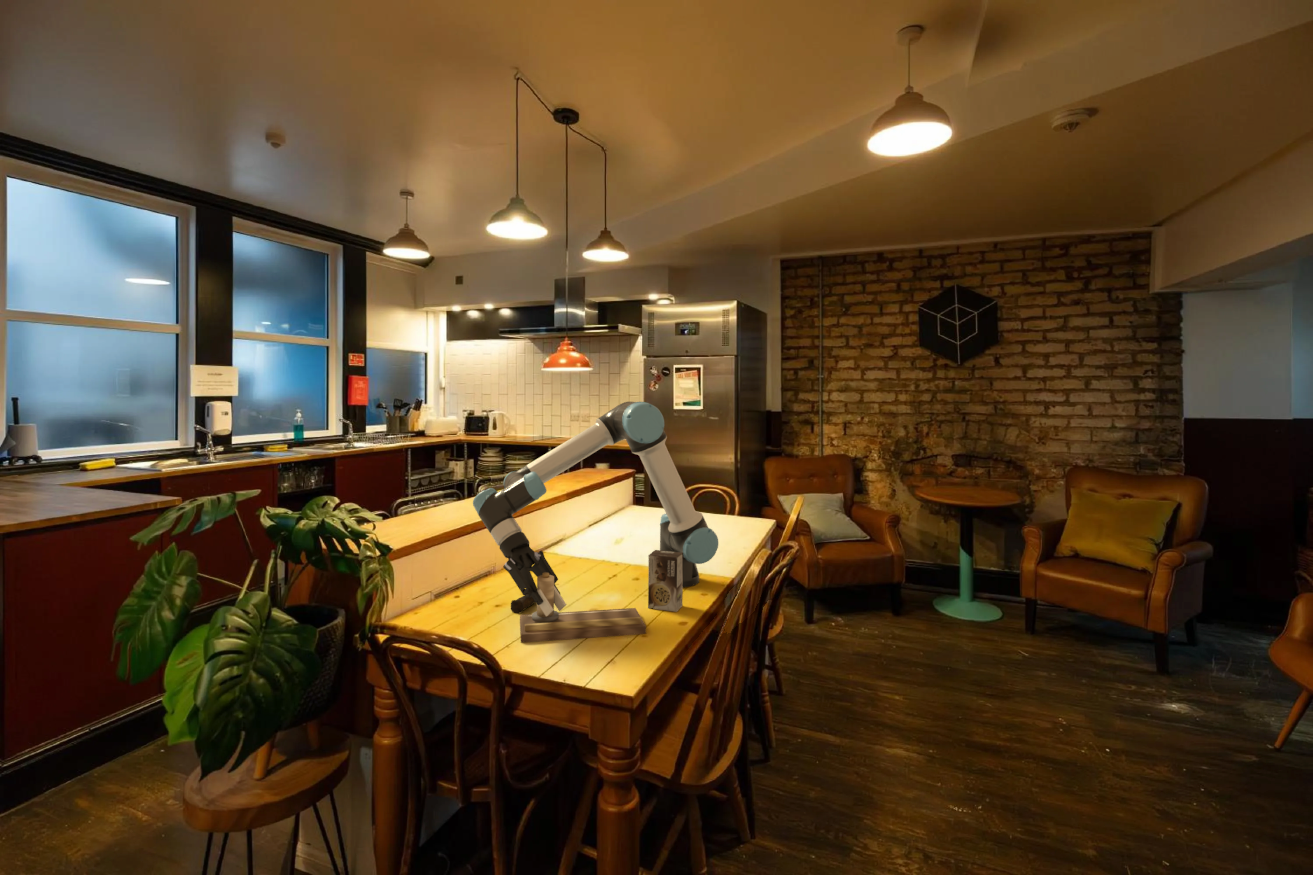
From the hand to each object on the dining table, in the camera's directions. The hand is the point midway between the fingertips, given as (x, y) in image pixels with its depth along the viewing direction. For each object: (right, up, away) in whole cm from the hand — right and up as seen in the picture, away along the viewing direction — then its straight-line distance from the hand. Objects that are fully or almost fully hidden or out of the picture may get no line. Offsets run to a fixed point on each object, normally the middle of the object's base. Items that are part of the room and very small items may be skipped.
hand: (556, 610), depth 161 cm
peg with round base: (-3, -3, +2) cm, 5 cm away
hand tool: (-11, -4, +23) cm, 25 cm away
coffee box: (+29, -5, +21) cm, 36 cm away
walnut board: (+6, -6, +4) cm, 9 cm away
